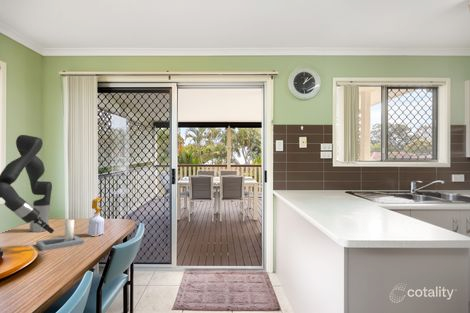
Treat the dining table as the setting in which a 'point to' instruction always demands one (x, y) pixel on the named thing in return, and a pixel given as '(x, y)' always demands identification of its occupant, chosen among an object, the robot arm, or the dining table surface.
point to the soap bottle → (96, 220)
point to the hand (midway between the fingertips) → (50, 230)
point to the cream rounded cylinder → (69, 230)
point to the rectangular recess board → (58, 243)
